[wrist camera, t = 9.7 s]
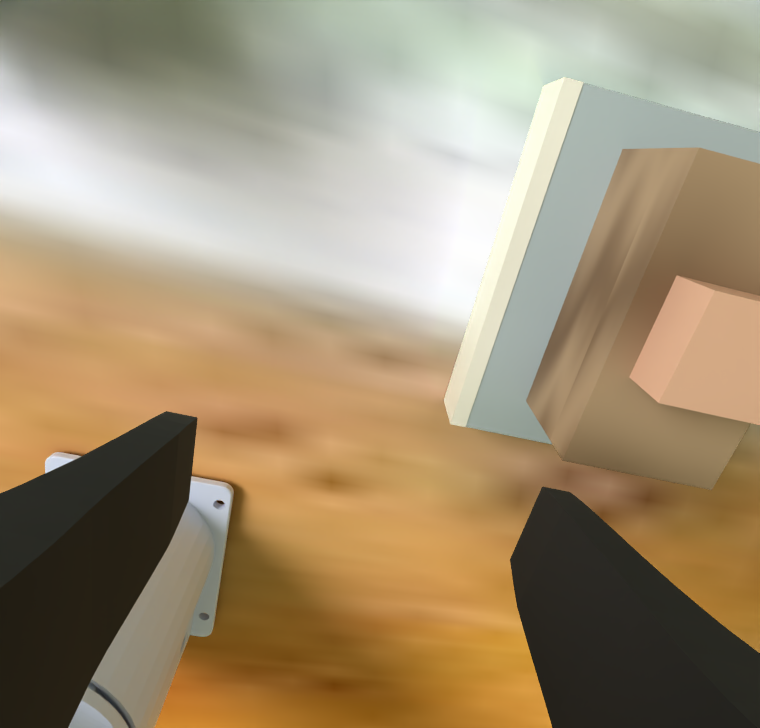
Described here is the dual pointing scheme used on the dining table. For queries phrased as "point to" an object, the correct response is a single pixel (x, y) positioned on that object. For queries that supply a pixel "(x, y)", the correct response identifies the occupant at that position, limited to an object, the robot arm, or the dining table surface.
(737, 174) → the pallet
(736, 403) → the tan square block
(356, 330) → the dining table surface
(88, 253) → the dining table surface
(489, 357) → the dock
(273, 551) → the dining table surface
